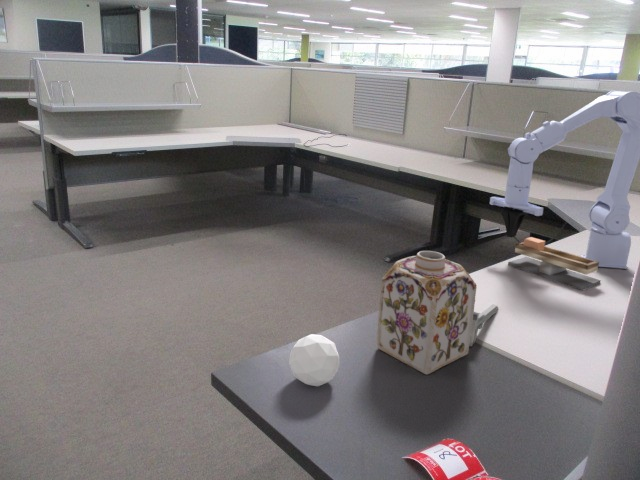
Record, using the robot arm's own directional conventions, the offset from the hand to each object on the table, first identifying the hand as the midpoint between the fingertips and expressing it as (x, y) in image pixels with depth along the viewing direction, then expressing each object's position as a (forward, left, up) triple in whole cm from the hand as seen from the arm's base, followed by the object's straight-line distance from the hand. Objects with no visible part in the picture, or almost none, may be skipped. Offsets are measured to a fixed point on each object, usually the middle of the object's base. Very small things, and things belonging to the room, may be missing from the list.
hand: (511, 236), depth 141 cm
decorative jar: (+24, +56, -7) cm, 61 cm away
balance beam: (-9, +9, -6) cm, 14 cm away
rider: (-5, +5, -2) cm, 7 cm away
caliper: (+12, +43, -7) cm, 45 cm away
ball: (+41, +69, -7) cm, 81 cm away
